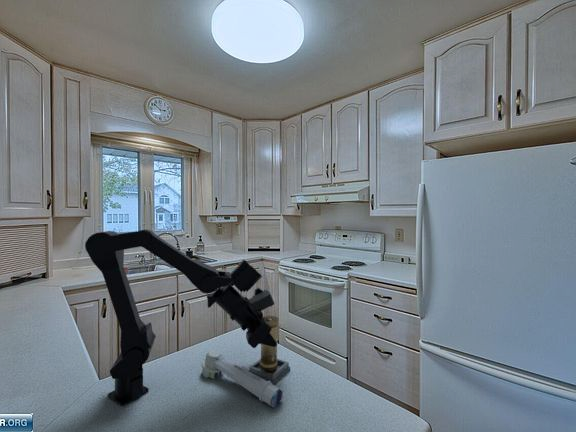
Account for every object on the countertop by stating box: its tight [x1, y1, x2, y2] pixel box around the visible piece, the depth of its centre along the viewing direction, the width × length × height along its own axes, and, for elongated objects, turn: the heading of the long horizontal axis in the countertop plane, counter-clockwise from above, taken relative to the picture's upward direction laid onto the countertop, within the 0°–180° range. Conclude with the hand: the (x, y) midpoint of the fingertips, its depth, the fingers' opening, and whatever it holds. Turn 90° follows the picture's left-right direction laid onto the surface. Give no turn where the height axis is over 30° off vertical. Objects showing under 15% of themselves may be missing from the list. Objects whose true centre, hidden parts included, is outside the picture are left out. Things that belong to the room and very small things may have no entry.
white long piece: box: [201, 349, 284, 409], centre depth 70 cm, size 5×7×25 cm
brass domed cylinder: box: [260, 315, 279, 371], centre depth 76 cm, size 5×5×13 cm
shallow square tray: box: [248, 358, 291, 386], centre depth 76 cm, size 8×8×2 cm
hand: (274, 341), depth 76 cm, fingers closed on brass domed cylinder, 4 cm apart
